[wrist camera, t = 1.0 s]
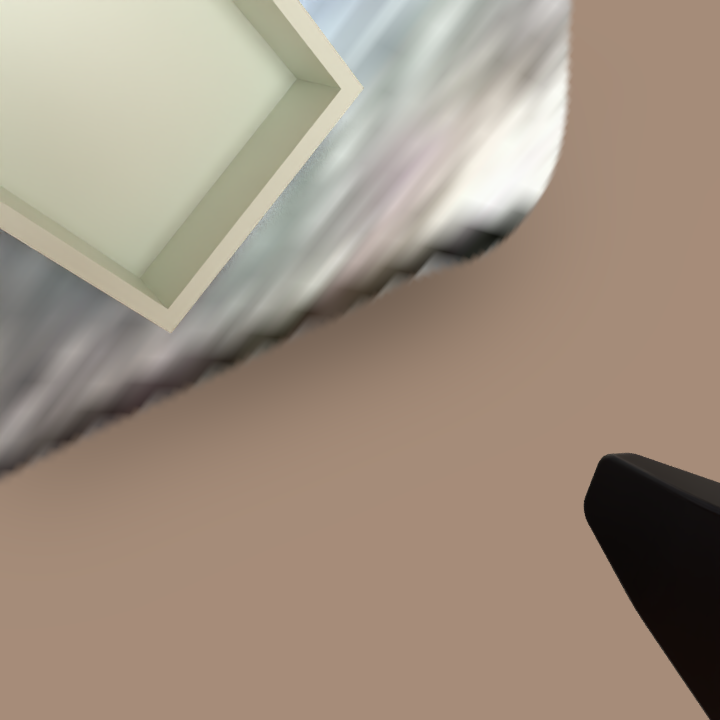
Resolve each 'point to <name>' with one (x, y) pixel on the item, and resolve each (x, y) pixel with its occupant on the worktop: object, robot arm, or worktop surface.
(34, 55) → the tray
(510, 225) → the worktop surface
